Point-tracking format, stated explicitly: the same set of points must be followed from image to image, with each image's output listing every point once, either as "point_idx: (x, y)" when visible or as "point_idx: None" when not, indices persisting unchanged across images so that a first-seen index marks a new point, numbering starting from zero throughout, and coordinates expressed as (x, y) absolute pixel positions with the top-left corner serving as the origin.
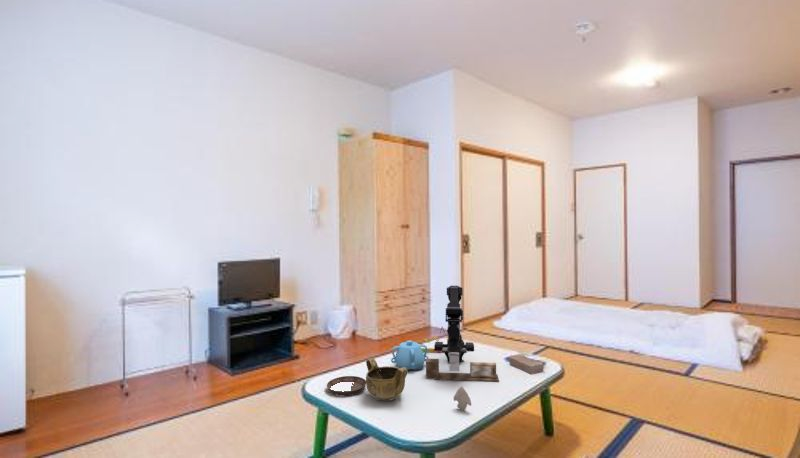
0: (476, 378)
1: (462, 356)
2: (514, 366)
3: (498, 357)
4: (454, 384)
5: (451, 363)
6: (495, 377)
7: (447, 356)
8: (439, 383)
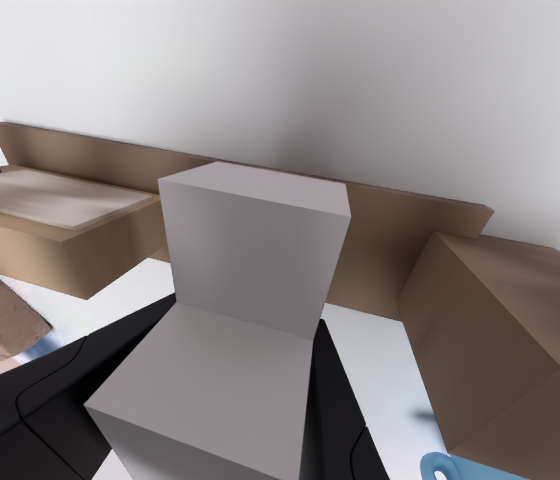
0: (129, 170)
1: (25, 364)
2: (25, 306)
3: None
4: (313, 68)
5: (295, 271)
6: (16, 165)
7: (356, 470)
8: (472, 103)
